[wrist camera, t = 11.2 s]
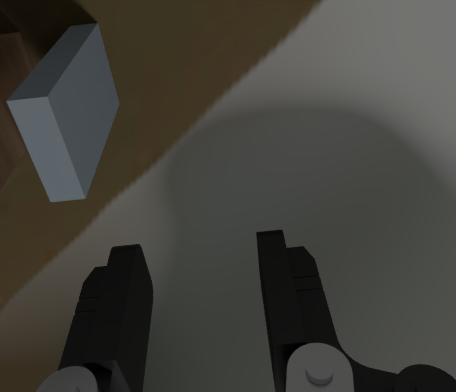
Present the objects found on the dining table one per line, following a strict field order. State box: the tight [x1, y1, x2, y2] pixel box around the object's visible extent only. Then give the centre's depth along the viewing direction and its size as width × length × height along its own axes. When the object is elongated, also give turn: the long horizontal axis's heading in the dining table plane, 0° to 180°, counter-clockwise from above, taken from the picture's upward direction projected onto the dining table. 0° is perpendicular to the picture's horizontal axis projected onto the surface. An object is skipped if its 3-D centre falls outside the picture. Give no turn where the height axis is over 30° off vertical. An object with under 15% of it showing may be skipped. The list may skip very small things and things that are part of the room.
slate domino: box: [7, 23, 120, 202], centre depth 22 cm, size 2×5×10 cm, turn 5°
